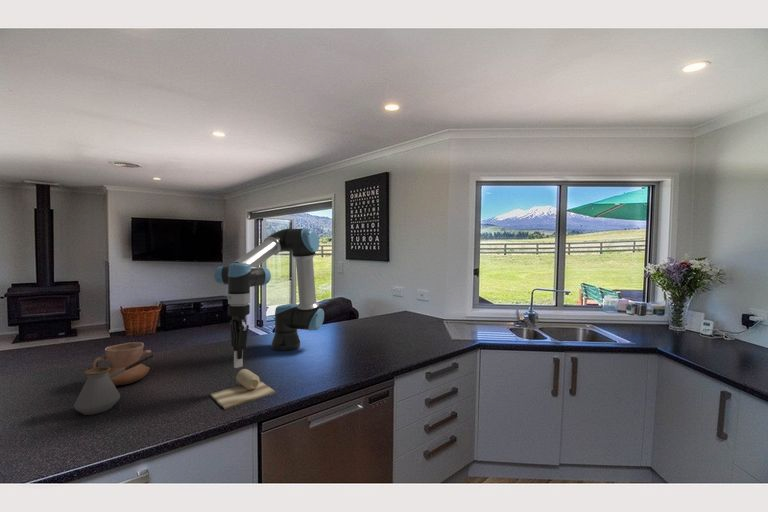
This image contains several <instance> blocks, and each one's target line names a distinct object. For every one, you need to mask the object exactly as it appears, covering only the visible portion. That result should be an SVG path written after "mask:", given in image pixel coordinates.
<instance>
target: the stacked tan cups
mask: <svg viewBox="0 0 768 512" xmlns="http://www.w3.org/2000/svg"><path fill="white" fill-rule="evenodd" d="M144 347H145V344H144V342H139V341H136V342H135V341H134V342H125V343H120V344H115V345H109V346H106V347H105V349H104V353H105V356H99V357H97V358H95V359H94V361H93V362H92V369H93V368H98V367H99V365H98V364H99V362H101V361H103V362H106V363H108V364H109V365H110V366H111V367H110V368H111V369H110V370H109V373H108V375H109V376H110V375H112V374H114V373H116V372H118V371H120V370H123V369H125V368H126V367H128V366H130V365H132V364H133V363H135V362H137V361H140V359H141V357H142V356H143V355H146V354H149V355H151V353H152V350H151V349H146V350H144ZM149 371H150V367H149V366H147V365H145V364H143V363H141V364H139V365H137V366H135V367H133V368H130V369H128V370H126V371H124V372H122V373H120V374H118V375H116V376H114V377H112V378H110V379H111V380H112V382H113V384H114V385H115V387H116V386H123V385H130V384H132V383H135V382H138V381H140V380H141V379H143V378H145V376H147V374H148V373H149Z"/></svg>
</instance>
